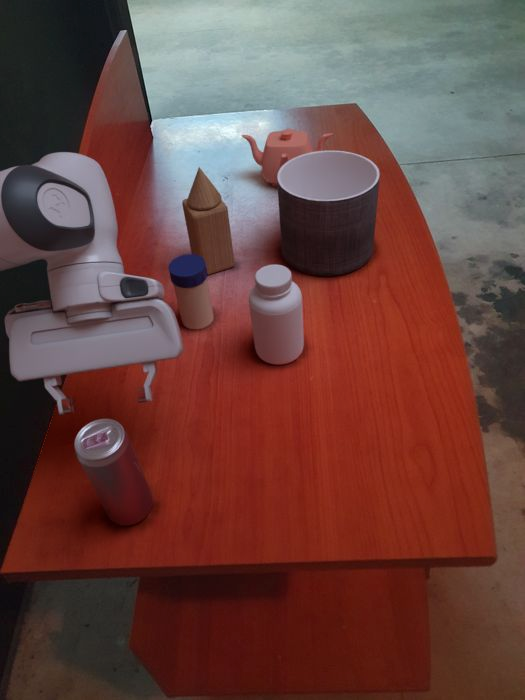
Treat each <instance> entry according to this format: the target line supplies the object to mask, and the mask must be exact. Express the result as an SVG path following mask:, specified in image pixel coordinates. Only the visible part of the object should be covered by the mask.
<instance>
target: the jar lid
mask: <svg viewBox="0 0 525 700" xmlns="http://www.w3.org/2000/svg"><path fill="white" fill-rule="evenodd" d="M168 272H169V277H170V282H171V283H172V285H173V284H174V285H176V286H178V287H181V288H191V287H195V286H198V285H200V284H201V283H203V282H204V281H205V280H206V278H207V279H208V276H209V275H208V274H207V268H206V263H205V260H204V259H203V258H202V257H201V256H199V255H195V254H192V253H187V254H182V255H178V256H176V257H174V258H173V259H172V260H171V261H170V262H169V265H168ZM174 285H173V286H174Z"/></svg>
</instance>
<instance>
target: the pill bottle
mask: <svg viewBox="0 0 525 700" xmlns="http://www.w3.org/2000/svg"><path fill="white" fill-rule="evenodd" d="M254 284H255V285H253V287H251V290H250V292H249V295H248V305H249V313H250V320H251V326H252V327H251V329H252V336H253V343H254V349H255V352H256V354H257V356H258V357H259V358H260V359H261V360H262V361H263V362H265V363H268V364H271V365H276V366H277V365H278V366H279V365H286V364H290V363H292V362H294V361H295V360H297V359H298V358H300V356H301V355H302V353H303V351H304V347H305V336H304V335H305V334H304V317H303V316H304V313H303V312H304V311H303V296H302V295H303V294H302V291H301V289H300V287H299V286H298V284H297V283H296V282H294V281H293V276H292V271H291V270H290V269H289V268H288V267H286V266H284V265H281V264H268V265H264V266H262V267H260V268H259V269H258V270H257V271H256V273H255V275H254Z"/></svg>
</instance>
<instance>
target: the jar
mask: <svg viewBox="0 0 525 700" xmlns="http://www.w3.org/2000/svg"><path fill="white" fill-rule="evenodd" d="M172 285H173V290H174V294H175V298H176V302H177V306H178V311H179V316H180V319H181V323H182V325H183V326H184V327H185V328H188V329H190V330H202V329H204V328H206V327H208V326H209V325H211V324H212V322H213V321H214V318H215V317H214V309H213V303H212V297H211V292H210V286H209V281H208V277H207V278H206V280H205V281H204V282H203V283H201V284H200V285H198V286H195V287H191V288H181V287H178V286H176V285H174V284H173V283H172Z"/></svg>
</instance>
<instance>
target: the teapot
mask: <svg viewBox="0 0 525 700" xmlns="http://www.w3.org/2000/svg"><path fill="white" fill-rule="evenodd" d="M333 135H334V132H328V133H323V134H322V135H321V136H320V138H319V140H318V143H317V147H316V149H315V150H314V149H313V145H312V142H311V139H310V135H309V133H308V132H307V131H305V130H293V129H292V128H291V127H290V128H289V127H288V128H286V129H283V130H277V131H271V132H269V133H268V134H267V137H266V140H265V143H264V148H263V151H262V150H260V149H259V147H258V145H257V142H256V140H255V138H254V137H253V136H252V135H248V134H241V137H242V138H243V139H244V140H246V141H247V142H248V144H249V146H250V150H251V154H252V157H253V160H254V161H255V163H257V165H259V166H260V167H261V175H262V177H263V179H264V180H265V182H267V183H269V184H271V186H272V187H278V185H277V174H278V171H279V169H280V168H281V167H282V166H283V165H284V164H285V163H286V162H288V161H289V160H291V159H293V158H295V157H297V156H300V155H303V154H306V153H311V152H317V151H325V150H324V149H325V144H326V141H327V140H328V139H329V138H330V137H331V136H333Z"/></svg>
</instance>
